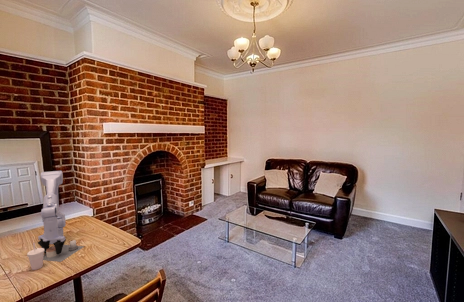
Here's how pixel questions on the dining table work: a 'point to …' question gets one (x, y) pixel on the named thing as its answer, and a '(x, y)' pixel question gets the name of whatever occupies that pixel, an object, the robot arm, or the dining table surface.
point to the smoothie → (36, 257)
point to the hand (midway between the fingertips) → (52, 252)
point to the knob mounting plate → (65, 252)
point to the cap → (51, 252)
